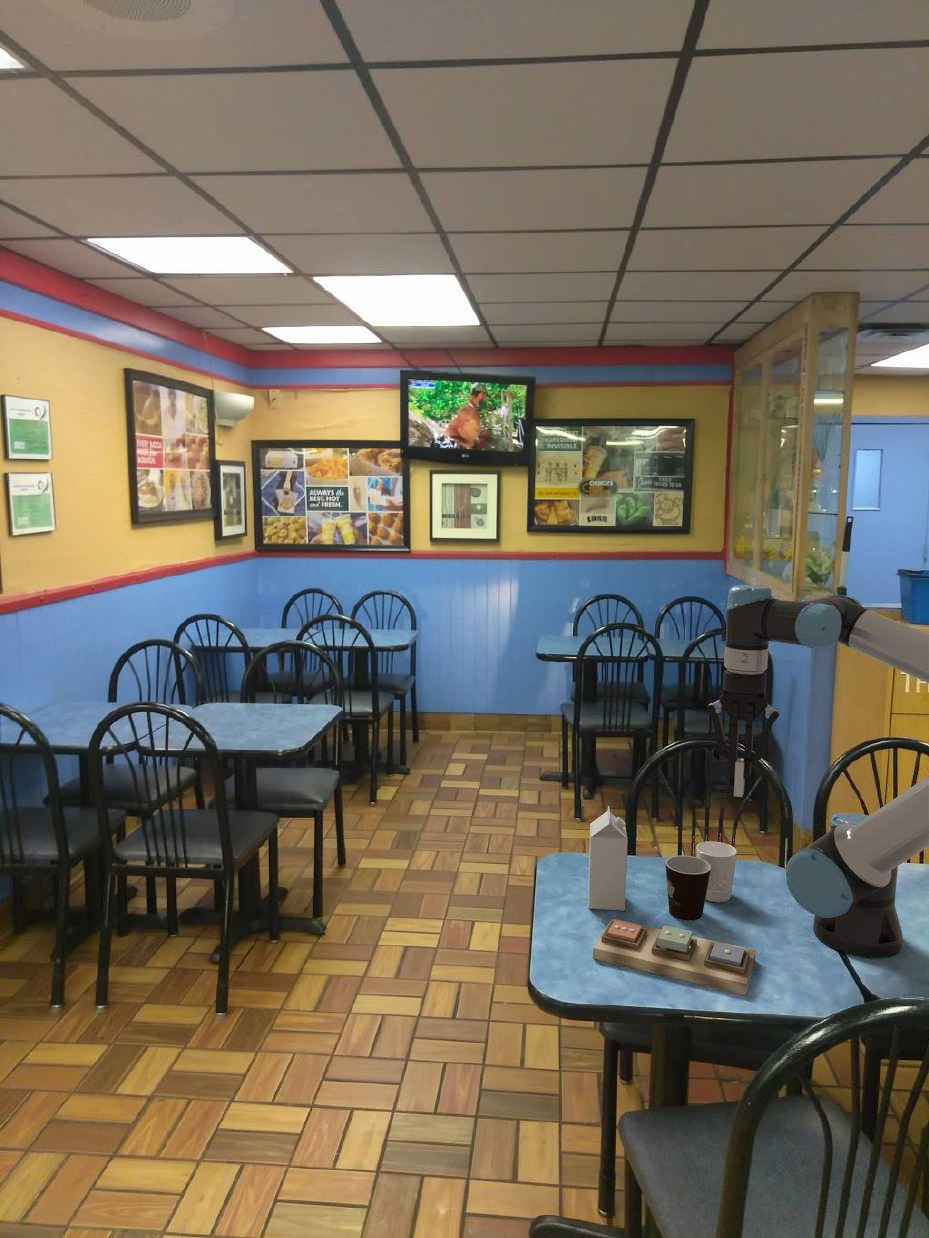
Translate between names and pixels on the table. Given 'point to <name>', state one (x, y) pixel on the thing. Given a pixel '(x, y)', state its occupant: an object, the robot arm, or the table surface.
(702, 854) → the white cup
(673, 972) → the keypad board
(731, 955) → the key one dot
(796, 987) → the table surface
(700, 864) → the coffee mug
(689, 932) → the key two dots
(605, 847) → the milk carton
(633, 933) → the key three dots
